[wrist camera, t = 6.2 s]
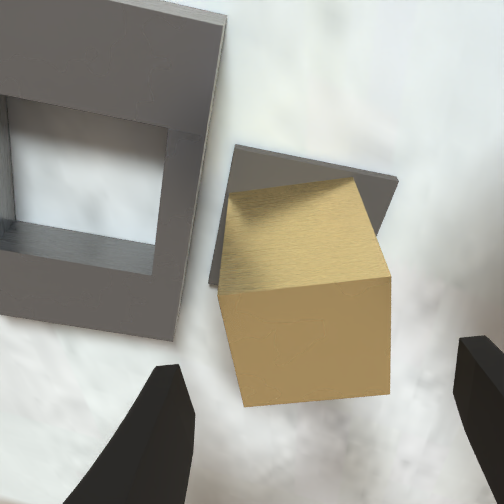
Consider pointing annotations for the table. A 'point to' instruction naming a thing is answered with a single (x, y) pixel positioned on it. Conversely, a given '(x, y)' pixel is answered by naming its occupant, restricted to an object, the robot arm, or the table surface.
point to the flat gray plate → (297, 172)
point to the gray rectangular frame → (120, 106)
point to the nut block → (305, 294)
